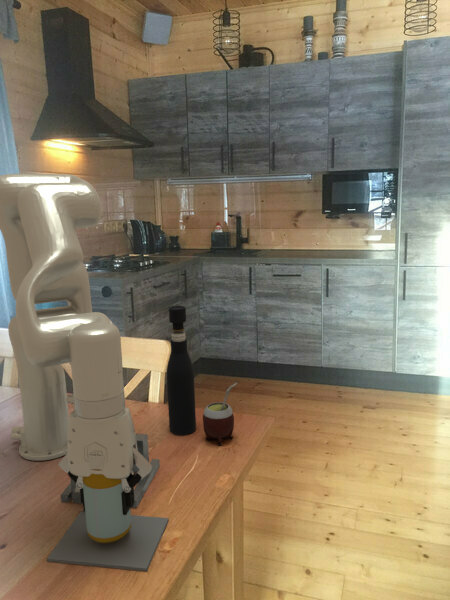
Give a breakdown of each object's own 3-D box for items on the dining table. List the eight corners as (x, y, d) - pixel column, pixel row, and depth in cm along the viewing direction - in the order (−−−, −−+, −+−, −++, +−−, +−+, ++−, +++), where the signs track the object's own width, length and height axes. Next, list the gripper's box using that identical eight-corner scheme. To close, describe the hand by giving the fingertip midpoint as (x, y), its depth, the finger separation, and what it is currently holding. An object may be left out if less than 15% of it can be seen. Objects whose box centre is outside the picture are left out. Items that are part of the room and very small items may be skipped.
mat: (47, 561, 77) (46, 558, 76) (81, 513, 88) (81, 510, 88) (146, 571, 74) (146, 568, 74) (168, 520, 86) (168, 518, 85)
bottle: (121, 547, 77) (114, 459, 74) (79, 542, 78) (71, 455, 75) (137, 519, 84) (132, 437, 80) (99, 515, 85) (92, 434, 82)
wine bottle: (164, 433, 117) (158, 309, 112) (176, 422, 123) (170, 304, 117) (189, 437, 115) (184, 311, 109) (200, 425, 121) (195, 305, 115)
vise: (54, 510, 89) (50, 474, 88) (93, 461, 106) (91, 431, 104) (131, 516, 87) (129, 480, 86) (159, 465, 103) (157, 434, 102)
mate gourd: (203, 433, 117) (201, 372, 114) (236, 431, 118) (235, 371, 115) (204, 448, 110) (201, 384, 107) (239, 446, 110) (238, 382, 107)
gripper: (35, 410, 74) (46, 518, 78) (146, 416, 71) (152, 527, 75) (59, 391, 81) (69, 490, 85) (161, 396, 79) (166, 498, 82)
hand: (108, 507), depth 80 cm, fingers closed on bottle, 5 cm apart
